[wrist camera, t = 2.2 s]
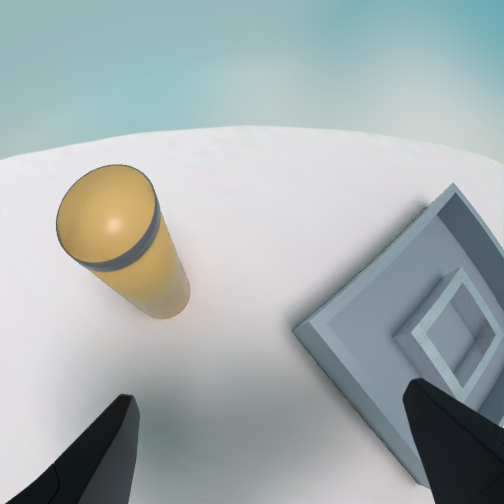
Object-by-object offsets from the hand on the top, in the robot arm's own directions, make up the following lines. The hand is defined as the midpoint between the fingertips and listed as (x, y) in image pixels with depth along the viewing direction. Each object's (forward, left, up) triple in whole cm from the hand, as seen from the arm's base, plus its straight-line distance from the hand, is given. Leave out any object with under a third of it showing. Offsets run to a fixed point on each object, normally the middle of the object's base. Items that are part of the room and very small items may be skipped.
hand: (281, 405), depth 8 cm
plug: (-1, +9, -14) cm, 17 cm away
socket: (+15, -9, -14) cm, 22 cm away
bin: (+15, -9, -14) cm, 22 cm away
